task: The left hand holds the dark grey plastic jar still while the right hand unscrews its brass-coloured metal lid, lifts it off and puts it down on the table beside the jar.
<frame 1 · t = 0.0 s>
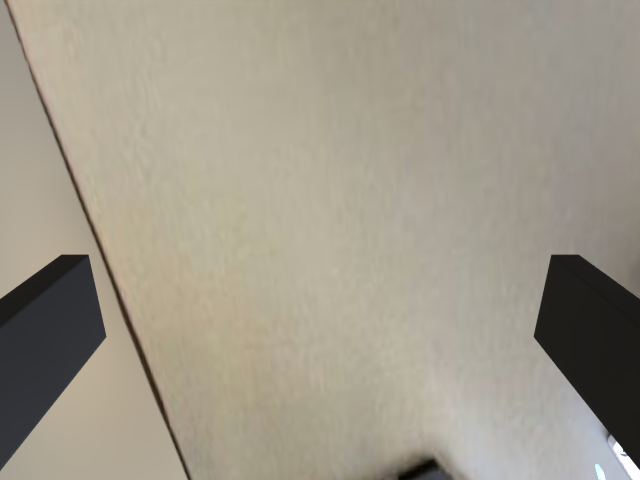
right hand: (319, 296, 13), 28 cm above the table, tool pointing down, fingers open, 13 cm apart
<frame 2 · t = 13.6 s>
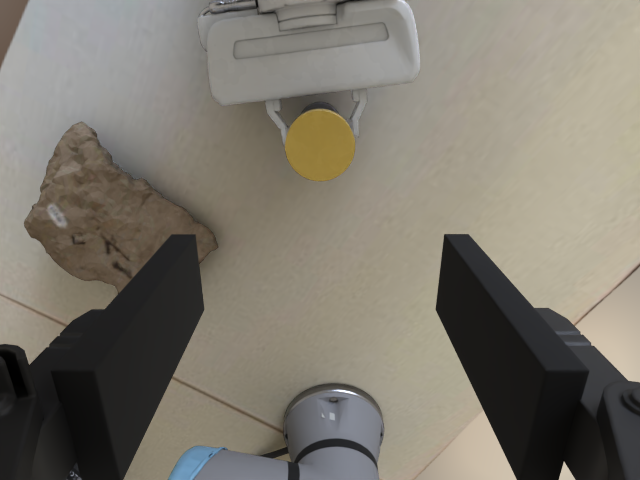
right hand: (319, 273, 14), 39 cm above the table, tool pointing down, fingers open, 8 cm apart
left hand: (321, 140, 45), fingers closed on jar, 5 cm apart
lid: (320, 146, 36), point 15 cm above the table, screwed on, not yet turned
stone: (130, 218, 55), on the table
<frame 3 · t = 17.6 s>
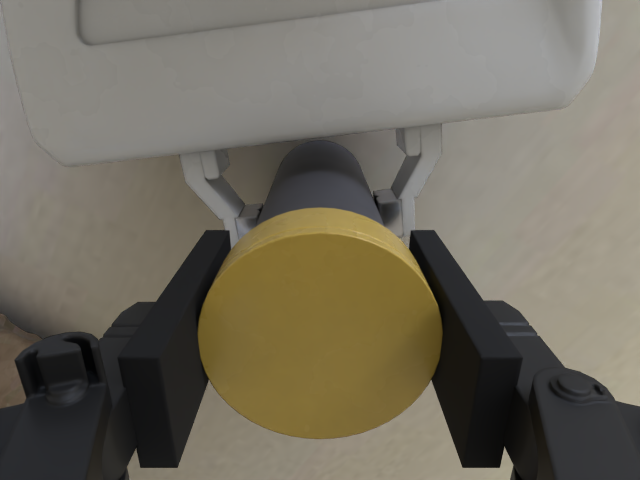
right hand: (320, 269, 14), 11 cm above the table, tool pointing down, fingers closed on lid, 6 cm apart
left hand: (323, 241, 19), fingers closed on jar, 5 cm apart
jar: (319, 184, 25), on the table, touching left hand
lid: (320, 338, 11), point 15 cm above the table, screwed on, not yet turned, touching right hand
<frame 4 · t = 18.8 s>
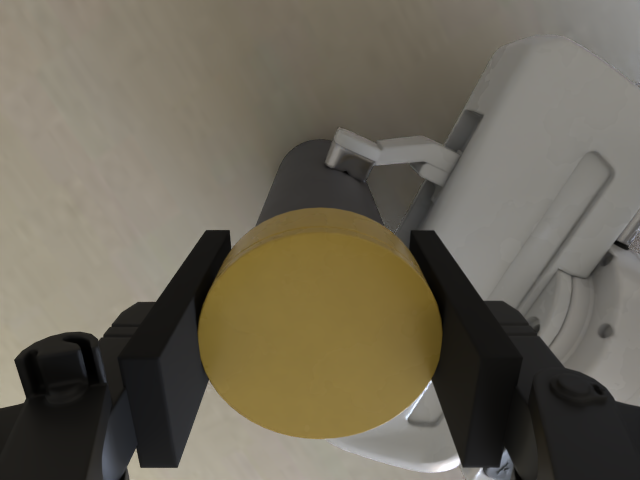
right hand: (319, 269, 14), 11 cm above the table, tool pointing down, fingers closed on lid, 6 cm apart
jar: (319, 182, 25), on the table, touching left hand
lid: (320, 338, 11), point 15 cm above the table, off its thread, touching right hand
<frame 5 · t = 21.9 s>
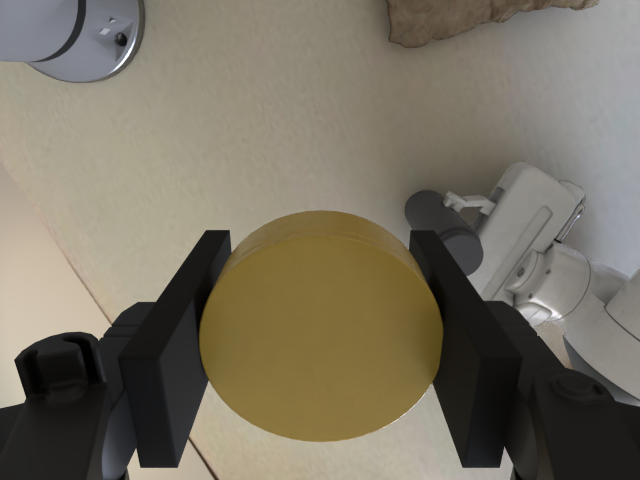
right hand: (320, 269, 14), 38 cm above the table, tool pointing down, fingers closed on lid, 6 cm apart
jar: (425, 209, 53), on the table, touching left hand
lid: (321, 341, 11), point 42 cm above the table, off its thread, touching right hand
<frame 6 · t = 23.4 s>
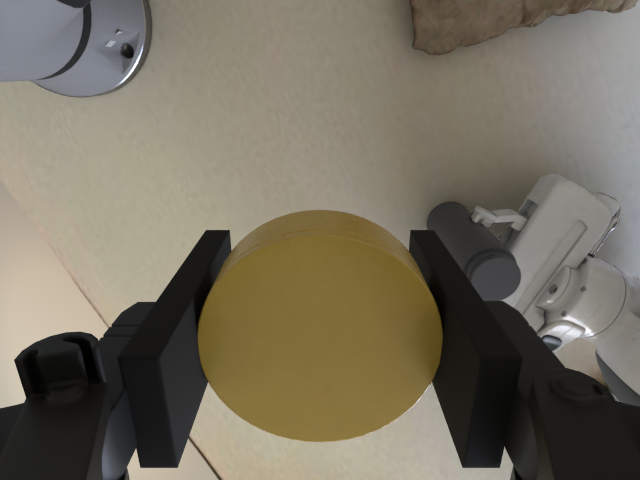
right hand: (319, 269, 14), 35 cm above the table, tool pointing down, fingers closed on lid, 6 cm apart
jar: (448, 221, 51), on the table, touching left hand
lid: (320, 341, 11), point 39 cm above the table, off its thread, touching right hand
when the right hand's fingers open (0 cm above the table, at t = 29.6 s): lid stays where it is, point 1 cm above the table.
when the left hand's fingers open (7 cm above the table, at t = 30.2 s): jar stays where it is, on the table.
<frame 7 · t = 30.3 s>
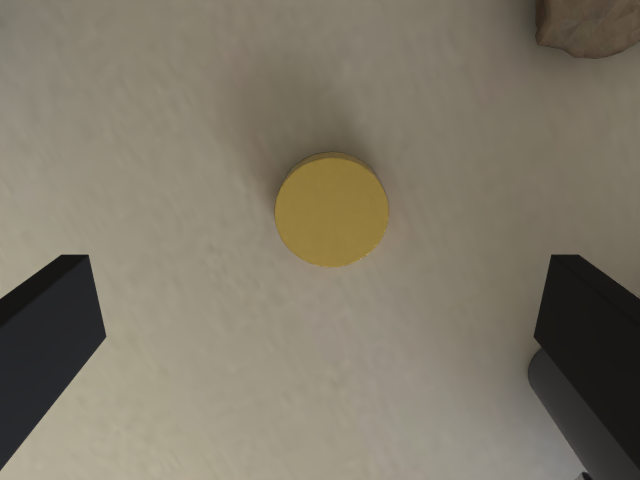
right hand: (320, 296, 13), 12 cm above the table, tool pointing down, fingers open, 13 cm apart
jar: (567, 368, 27), on the table
lid: (331, 213, 22), point 1 cm above the table, off its thread
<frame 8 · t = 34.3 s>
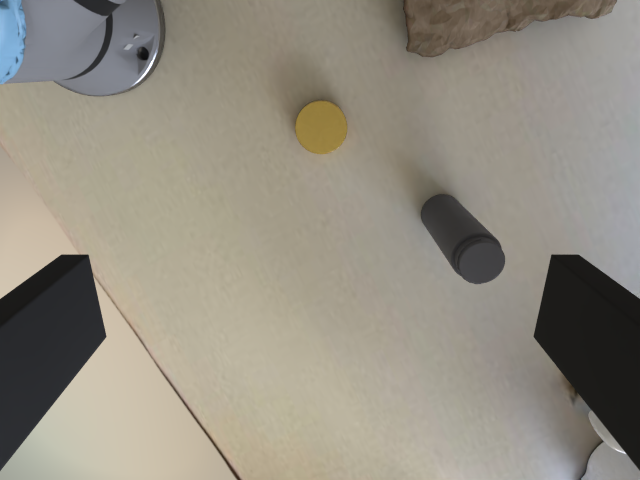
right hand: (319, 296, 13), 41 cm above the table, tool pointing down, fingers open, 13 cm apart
jar: (440, 213, 54), on the table
lid: (321, 127, 49), point 1 cm above the table, off its thread
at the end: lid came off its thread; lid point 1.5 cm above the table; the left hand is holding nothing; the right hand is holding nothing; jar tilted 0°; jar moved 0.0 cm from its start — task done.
